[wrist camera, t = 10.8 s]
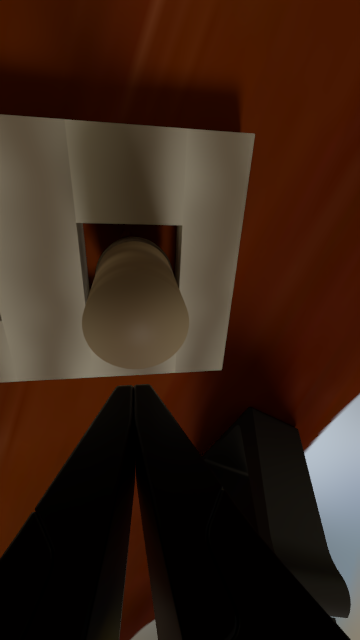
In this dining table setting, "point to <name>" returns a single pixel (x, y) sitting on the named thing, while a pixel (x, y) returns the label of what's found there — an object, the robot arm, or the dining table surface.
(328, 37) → the dining table surface
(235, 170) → the birch board
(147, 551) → the robot arm
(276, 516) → the phone stand
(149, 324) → the oak peg
